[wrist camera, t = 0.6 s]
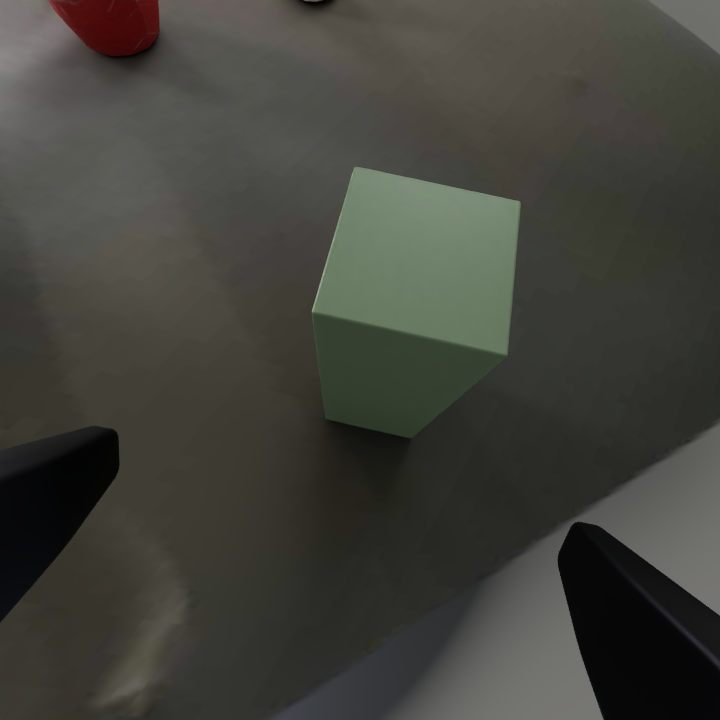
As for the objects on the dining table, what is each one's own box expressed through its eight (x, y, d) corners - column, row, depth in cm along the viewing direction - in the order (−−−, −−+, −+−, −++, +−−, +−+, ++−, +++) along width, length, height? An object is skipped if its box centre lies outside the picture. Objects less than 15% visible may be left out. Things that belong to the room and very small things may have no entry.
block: (411, 439, 22) (508, 357, 10) (325, 419, 22) (310, 312, 10) (425, 357, 23) (521, 200, 11) (345, 339, 24) (354, 164, 11)
